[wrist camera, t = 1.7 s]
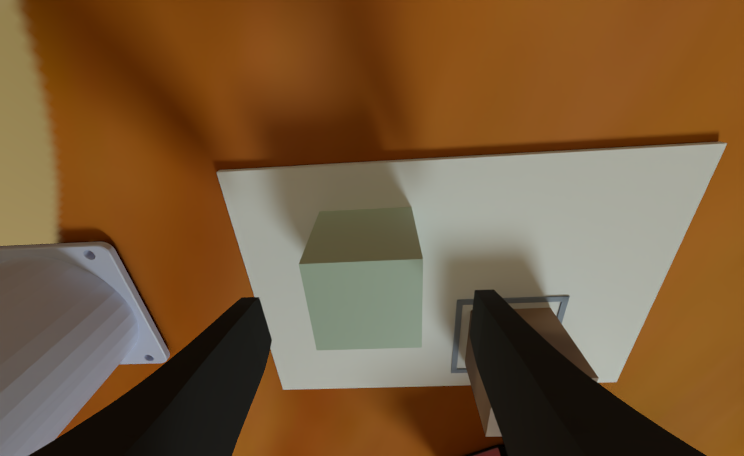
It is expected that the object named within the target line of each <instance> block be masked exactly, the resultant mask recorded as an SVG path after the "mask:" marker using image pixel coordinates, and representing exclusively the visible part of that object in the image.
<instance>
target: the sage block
mask: <svg viewBox="0 0 744 456" xmlns="http://www.w3.org/2000/svg"><path fill="white" fill-rule="evenodd" d="M299 268H300V273H301V278H302V283H303V287H304V292H305V297H306V302H307V306H308V311H309V316H310V321H311V325H312V330H313V335H314V340H315V345H316V349H317V350H350V349H385V348H420V347H422V297H423V256H422V252H421V247H420V243H419V238H418V234H417V229H416V225H415V220H414V216H413V211H412V207H400V208H380V209H360V210H339V211H319V214H318V216H317V219H316V221H315V224H314V226H313V229H312V232H311V234H310V237H309V239H308V242H307V244H306V247H305V249H304V252H303V254H302V257H301V259H300V262H299Z"/></svg>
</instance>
